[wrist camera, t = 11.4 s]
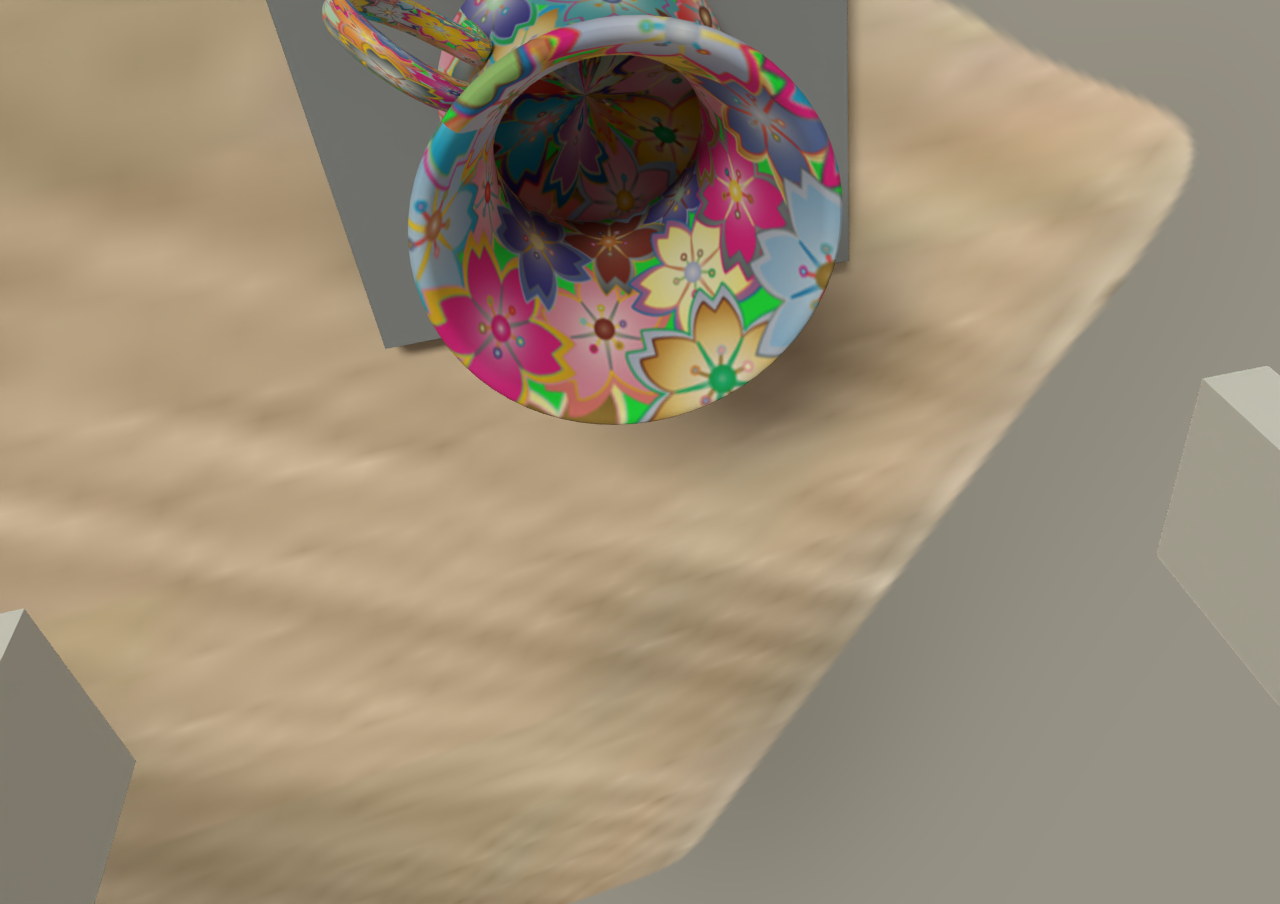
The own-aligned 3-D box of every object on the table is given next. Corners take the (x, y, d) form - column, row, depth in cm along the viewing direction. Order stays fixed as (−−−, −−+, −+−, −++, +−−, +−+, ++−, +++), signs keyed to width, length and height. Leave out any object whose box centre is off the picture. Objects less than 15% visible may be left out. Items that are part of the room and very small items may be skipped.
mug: (801, 53, 30) (932, 197, 22) (613, 286, 34) (663, 484, 26) (453, -247, 25) (449, -209, 16) (274, 71, 28) (196, 235, 20)
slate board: (387, 333, 35) (385, 348, 34) (201, -216, 25) (193, -213, 24) (840, 247, 35) (848, 260, 35) (832, -325, 26) (844, -325, 25)
